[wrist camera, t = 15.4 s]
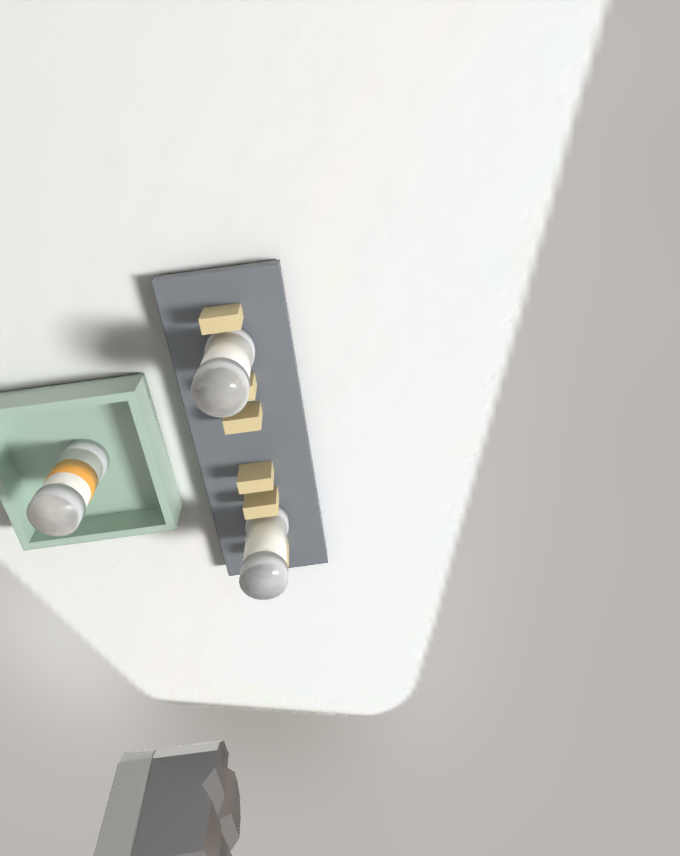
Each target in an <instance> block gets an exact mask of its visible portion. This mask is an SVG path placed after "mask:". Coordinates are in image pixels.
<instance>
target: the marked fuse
mask: <svg viewBox="0 0 680 856" xmlns="http://www.w3.org/2000/svg"><path fill="white" fill-rule="evenodd" d="M109 461H110V460H109V455H108V453H107V451H106V450H105V448H104V447H103V446H102V445H100V444H99V443H97V442H95V441H93V440H89V439H77V440H74V441H72V442H70V443H69V444H68V445H67V446H66V447H65V449H64V450H63V452H62V454H61V455H60V457H59V459H58V462H57V464H56V465H55V466H54V467H53V469H52V470H51V472H50V473H49V475H48V476H47V478H46V479H45V481H44V483H43V486H42V487H41V488H40V489H39V490H38V491H37V492H36V493H35V495H34V496H33V498H32V499H31V501H30V502H29V504H28V506H27V510H26V514H27V518H28V520H29V522H30V523H31V525H32V526H33V527H34V528H35V529H37V530H38V531H40V532H41V533H44V534H46V535H50V536H65V535H68V534H70V533H72V532H74V531H75V530H76V529H77V527H78V526H79V524H80V522H81V520H82V518H83V516H84V514H85V511H86V506H87V505H88V503H89V502H90V500H91V498H92V496H93V494H94V492H95V490H96V488H97V486H98V483H99V481H100V480H101V479H102V478H103V476H104V474H105V472H106V470H107V468H108V466H109Z"/></svg>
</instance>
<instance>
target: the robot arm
mask: <svg viewBox="0 0 680 856" xmlns="http://www.w3.org/2000/svg"><path fill="white" fill-rule="evenodd" d="M228 755H229V753H228V751H227V748H226V745H225V742H224V741H216V742H208V743H199V744H191V745H182V746H174V747H165V748H154V749H147V750H140V751H132V752H126V753H124V755H123V757H122V758H121V760H120V762H119V764H118V766H117V770H116V774H115V777H114V781H113V785H112V788H111V792H110V796H109V800H108V803H107V807H106V811H105V815H104V819H103V822H102V826H101V829H100V833H99V837H98V841H97V844H96V848H95V852H94V856H232V855H231V852H230V851H231V850H232V848H233V847H234V845H235V844H236V842H237V841H238V839H239V834H240V819H241V816H240V795H239V788H238V782H237V779H236V776H235V772H234V771H232V770H231V769H229V768H227V767H228Z"/></svg>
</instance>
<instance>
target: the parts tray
mask: <svg viewBox="0 0 680 856" xmlns="http://www.w3.org/2000/svg"><path fill="white" fill-rule="evenodd" d="M77 439H89V440H93V441H95V442H97V443H99V444H100V445H102V446H103V447H104V448H105V450H106V451H107V453H108V455H109V460H110V461H109V466H108V468H107V470H106V472H105V474H104V476H103V478H102V479H101V480H100V481H99V483H98V486H97V488H96V490H95V492H94V494H93V496H92V498H91V500H90V502H89V503H88V505H87V506H86V511H85V514H84V516H83V518H82V520H81V522H80V524H79V526H78V527H77V529H76V530H75V531H74V532H72V533H70V534H68V535H65V536H50V535H46V534H44V533H41V532H40V531H38V530H37V529H35V528H34V527H33V526H32V525H31V523H30V522H29V520H28V518H27V514H26V510H27V506H28V504H29V502H30V501H31V499H32V498H33V496H34V495H35V493H36V492H37V491H38V490H39V489H40V488H41V487H42V486H43V483H44V481H45V479H46V478H47V476H48V475H49V473H50V472H51V470H52V469H53V467H54V466H55V465H56V464H57V462H58V459H59V457H60V455H61V454H62V452H63V450H64V449H65V447H66V446H67V445H68V444H69V443H70V442H72V441H74V440H77ZM0 500H1V502H2V504H3V506H4V508H5V511H6V513H7V515H8V517H9V519H10V522H11V524H12V526H13V528H14V530H15V533H16V535H17V537H18V539H19V541H20V544H21V546H22V548H23V550H24V551H25V550H32V549H39V548H47V547H54V546H62V545H69V544H77V543H84V542H91V541H99V540H106V539H114V538H121V537H128V536H136V535H143V534H151V533H158V532H166V531H173V530H176V529H177V526H178V522H179V518H180V515H181V511H182V507H183V505H182V502H181V498H180V495H179V491H178V488H177V485H176V481H175V478H174V474H173V471H172V467H171V464H170V460H169V457H168V453H167V450H166V446H165V443H164V440H163V436H162V433H161V429H160V426H159V422H158V419H157V415H156V412H155V408H154V405H153V401H152V398H151V395H150V391H149V388H148V384H147V381H146V377H145V374H144V373H141V374H134V375H127V376H119V377H112V378H104V379H97V380H89V381H82V382H75V383H67V384H60V385H52V386H45V387H37V388H30V389H22V390H15V391H8V392H0Z"/></svg>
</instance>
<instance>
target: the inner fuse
mask: <svg viewBox="0 0 680 856" xmlns="http://www.w3.org/2000/svg"><path fill="white" fill-rule="evenodd" d="M255 351H256V346H255V342H254V339H253V337H252V336H251V334H250V333H249V332H248V331H247V330H245V329H244V328H241V330H237V331H230V332H222V333H215V334H210V335H209V337H208V340H207V342H206V345H205V349H204V356H203V359H202V361H201V364H200V367H199V368H198V369H197V371H196V373H195V376H194V379H193V381H192V385H191V395H192V399H193V401H194V403H195V404H196V406H197V407H198V408H199V409H200V410H201V411H203V412H204V413H206V414H208V415H210V416H214V417H229V416H233V415H235V414H237V413H238V412H240V411H241V410H242V409H243V408H244V406H245V405H246V403H247V400H248V396H249V390H250V373H251V366H252V365H253V362H254V358H255Z"/></svg>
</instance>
